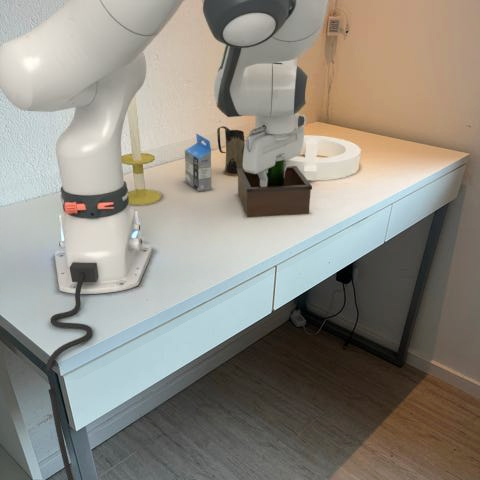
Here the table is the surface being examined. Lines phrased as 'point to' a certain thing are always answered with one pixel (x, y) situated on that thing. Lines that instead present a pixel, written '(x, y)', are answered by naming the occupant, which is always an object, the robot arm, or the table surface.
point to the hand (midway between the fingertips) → (272, 182)
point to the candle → (138, 163)
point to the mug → (233, 150)
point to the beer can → (277, 172)
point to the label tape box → (198, 165)
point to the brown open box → (274, 194)
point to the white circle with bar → (327, 158)
